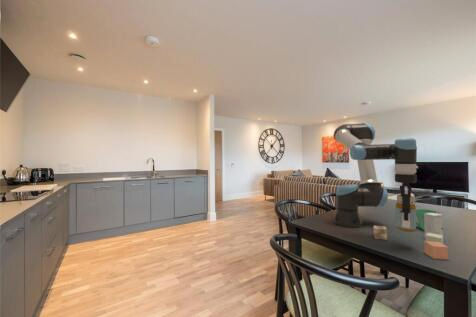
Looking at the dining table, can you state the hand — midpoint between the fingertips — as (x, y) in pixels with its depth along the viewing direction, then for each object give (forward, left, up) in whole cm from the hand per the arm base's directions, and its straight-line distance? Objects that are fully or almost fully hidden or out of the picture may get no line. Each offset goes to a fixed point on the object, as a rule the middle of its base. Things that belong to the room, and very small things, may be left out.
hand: (405, 225), depth 93 cm
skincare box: (+11, +19, -10) cm, 24 cm away
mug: (+8, +35, -10) cm, 37 cm away
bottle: (0, 0, -2) cm, 2 cm away
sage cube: (+10, +8, -10) cm, 16 cm away
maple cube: (-10, +7, -10) cm, 15 cm away
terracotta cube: (+9, -4, -10) cm, 14 cm away
